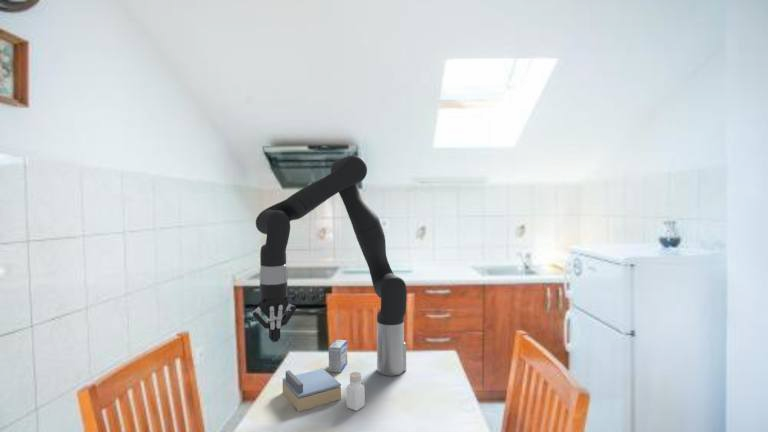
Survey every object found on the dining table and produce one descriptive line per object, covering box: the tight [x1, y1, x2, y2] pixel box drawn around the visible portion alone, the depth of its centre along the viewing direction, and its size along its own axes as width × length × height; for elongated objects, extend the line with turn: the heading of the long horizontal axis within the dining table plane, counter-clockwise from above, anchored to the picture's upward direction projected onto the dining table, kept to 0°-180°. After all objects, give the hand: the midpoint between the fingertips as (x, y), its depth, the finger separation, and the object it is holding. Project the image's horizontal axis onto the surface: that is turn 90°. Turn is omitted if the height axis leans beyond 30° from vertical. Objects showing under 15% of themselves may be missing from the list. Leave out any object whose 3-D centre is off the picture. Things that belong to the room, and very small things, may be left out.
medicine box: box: [328, 339, 348, 373], centre depth 144 cm, size 8×4×9 cm, turn 168°
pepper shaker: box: [346, 371, 366, 411], centre depth 117 cm, size 4×4×10 cm
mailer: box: [282, 380, 342, 412], centre depth 124 cm, size 13×13×4 cm
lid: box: [282, 368, 342, 398], centre depth 124 cm, size 13×13×3 cm
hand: (274, 341), depth 117 cm, fingers closed
